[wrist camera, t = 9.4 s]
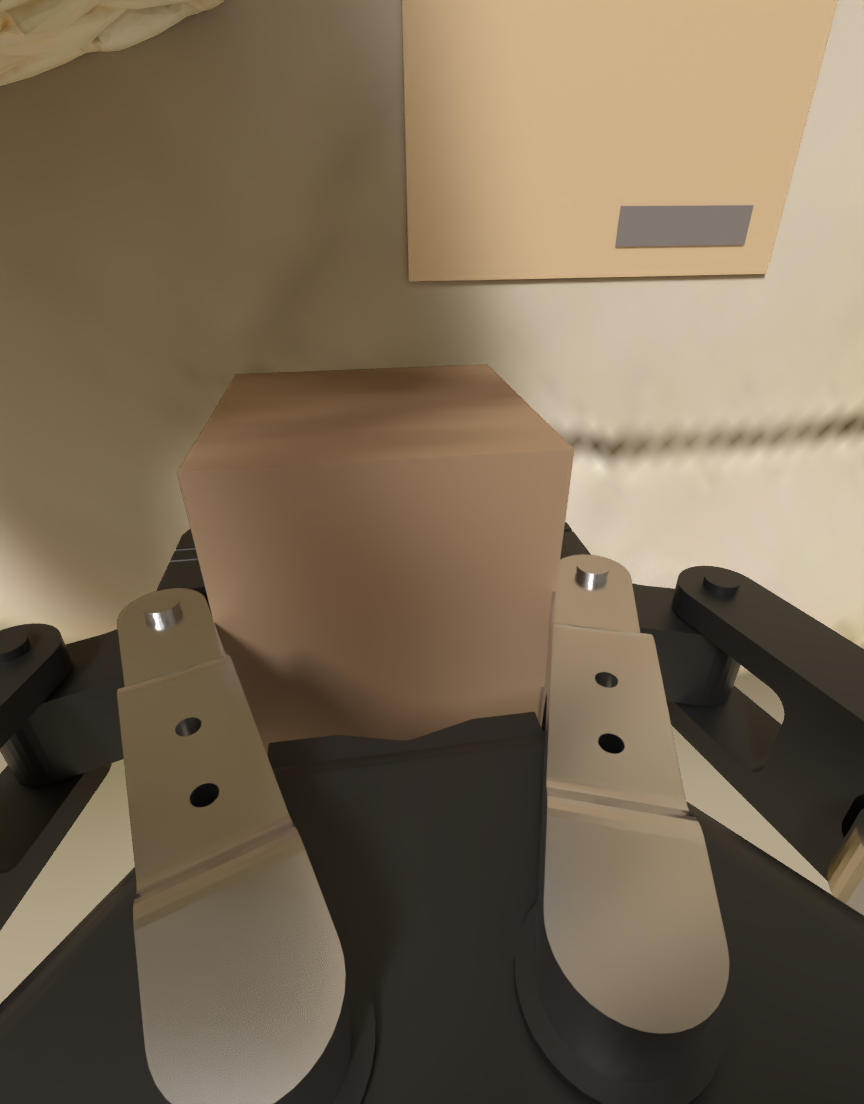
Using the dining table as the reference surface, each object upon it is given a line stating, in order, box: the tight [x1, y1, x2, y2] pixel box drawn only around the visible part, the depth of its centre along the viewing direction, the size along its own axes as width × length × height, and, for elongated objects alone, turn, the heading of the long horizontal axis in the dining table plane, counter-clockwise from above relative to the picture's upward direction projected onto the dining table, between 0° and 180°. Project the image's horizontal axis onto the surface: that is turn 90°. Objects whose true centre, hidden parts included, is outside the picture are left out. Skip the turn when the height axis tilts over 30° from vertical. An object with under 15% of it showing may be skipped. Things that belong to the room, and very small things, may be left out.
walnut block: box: [177, 364, 574, 754], centre depth 11 cm, size 5×7×5 cm
